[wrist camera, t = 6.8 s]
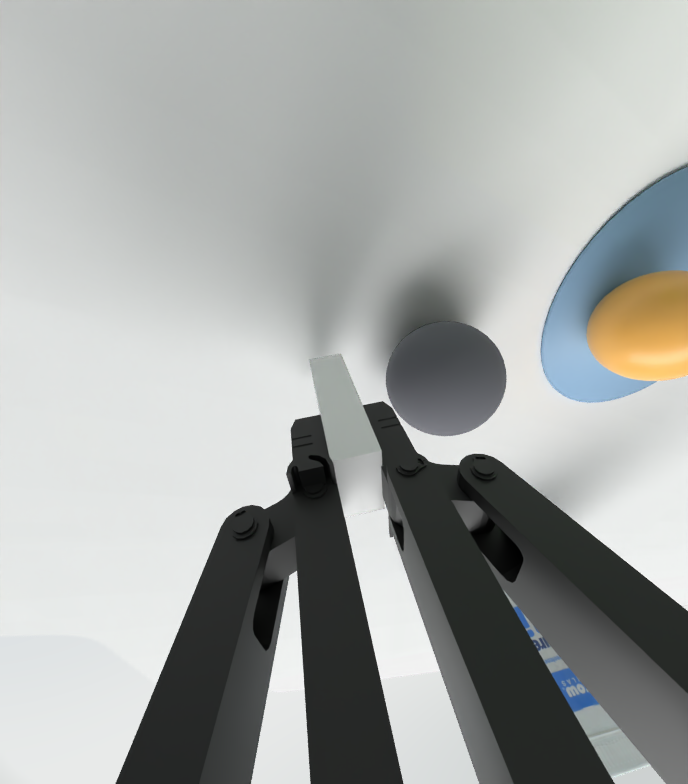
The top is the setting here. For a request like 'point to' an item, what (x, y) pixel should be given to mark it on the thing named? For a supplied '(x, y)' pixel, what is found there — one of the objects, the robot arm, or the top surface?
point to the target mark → (613, 286)
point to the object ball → (643, 327)
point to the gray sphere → (446, 378)
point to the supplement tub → (588, 710)
